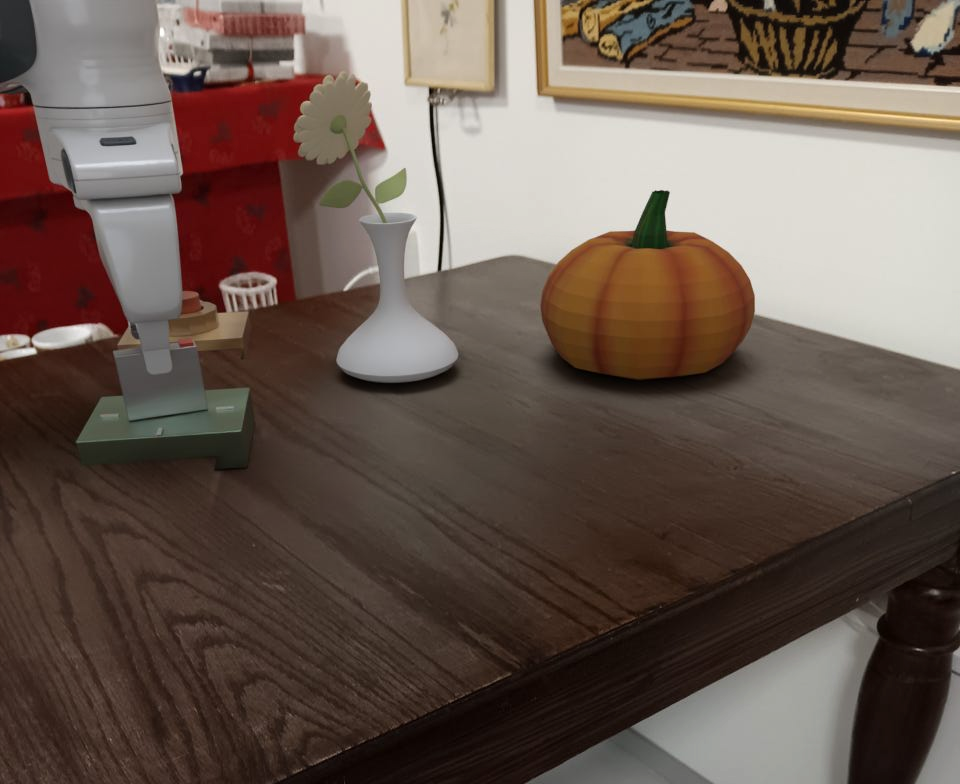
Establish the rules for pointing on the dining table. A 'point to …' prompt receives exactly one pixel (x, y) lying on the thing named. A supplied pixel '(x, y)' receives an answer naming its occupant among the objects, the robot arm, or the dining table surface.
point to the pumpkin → (647, 301)
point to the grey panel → (161, 383)
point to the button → (190, 302)
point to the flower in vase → (394, 324)
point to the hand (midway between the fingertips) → (151, 353)
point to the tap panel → (172, 432)
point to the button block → (205, 330)
